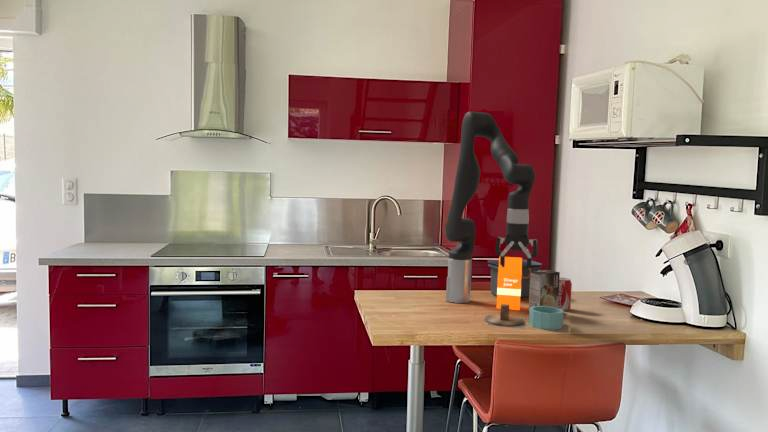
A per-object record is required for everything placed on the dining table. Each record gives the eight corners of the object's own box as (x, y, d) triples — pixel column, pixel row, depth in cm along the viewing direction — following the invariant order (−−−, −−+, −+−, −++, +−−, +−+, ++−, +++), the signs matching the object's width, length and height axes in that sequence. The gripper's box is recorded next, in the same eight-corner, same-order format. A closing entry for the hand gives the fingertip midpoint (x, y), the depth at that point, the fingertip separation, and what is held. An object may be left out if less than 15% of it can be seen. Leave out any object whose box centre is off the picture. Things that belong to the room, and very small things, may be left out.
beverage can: (571, 311, 242) (572, 280, 241) (554, 310, 243) (555, 279, 242) (569, 308, 248) (571, 277, 247) (553, 307, 250) (554, 276, 248)
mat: (482, 326, 218) (482, 324, 218) (485, 316, 231) (486, 315, 231) (524, 330, 214) (524, 328, 214) (525, 320, 228) (525, 318, 228)
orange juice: (519, 311, 240) (522, 259, 238) (496, 310, 242) (498, 257, 240) (520, 307, 248) (522, 256, 246) (497, 305, 250) (499, 254, 248)
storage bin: (525, 290, 279) (526, 258, 278) (546, 298, 265) (548, 264, 264) (482, 293, 271) (484, 260, 270) (502, 301, 257) (504, 266, 256)
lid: (483, 324, 218) (484, 307, 217) (487, 315, 231) (487, 299, 230) (522, 327, 215) (523, 311, 214) (524, 318, 227) (524, 302, 227)
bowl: (528, 329, 215) (529, 312, 215) (529, 321, 226) (530, 304, 226) (562, 332, 213) (563, 314, 212) (562, 324, 223) (563, 307, 223)
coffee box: (546, 310, 243) (548, 269, 241) (558, 314, 237) (560, 272, 236) (527, 313, 239) (529, 270, 237) (539, 317, 233) (541, 273, 231)
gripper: (495, 221, 220) (493, 268, 222) (537, 223, 216) (535, 271, 217) (498, 219, 227) (496, 264, 229) (539, 221, 223) (537, 267, 225)
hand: (515, 267), depth 223 cm, fingers open, 8 cm apart
